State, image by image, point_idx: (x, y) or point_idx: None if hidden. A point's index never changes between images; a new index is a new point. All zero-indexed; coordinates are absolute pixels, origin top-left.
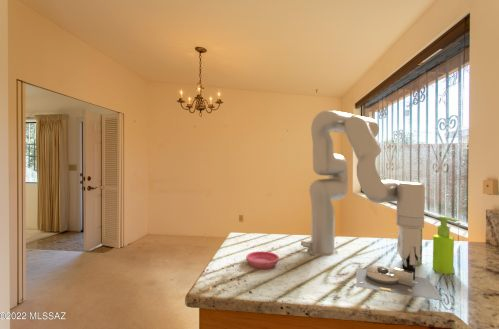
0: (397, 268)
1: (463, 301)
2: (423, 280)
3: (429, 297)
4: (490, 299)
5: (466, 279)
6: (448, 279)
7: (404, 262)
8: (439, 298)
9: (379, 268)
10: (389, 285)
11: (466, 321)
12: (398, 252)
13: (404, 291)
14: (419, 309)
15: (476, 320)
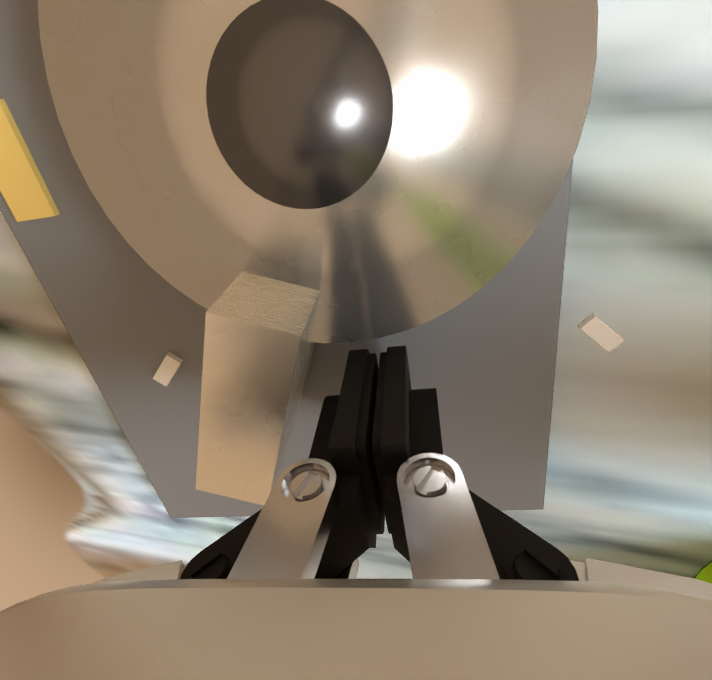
0: (265, 359)
1: None
2: (476, 475)
3: (153, 465)
4: None
5: None
6: None
7: (320, 510)
8: (184, 508)
9: (291, 44)
10: None
11: (75, 538)
12: (425, 606)
13: (121, 328)
14: (5, 383)
15: (121, 568)
